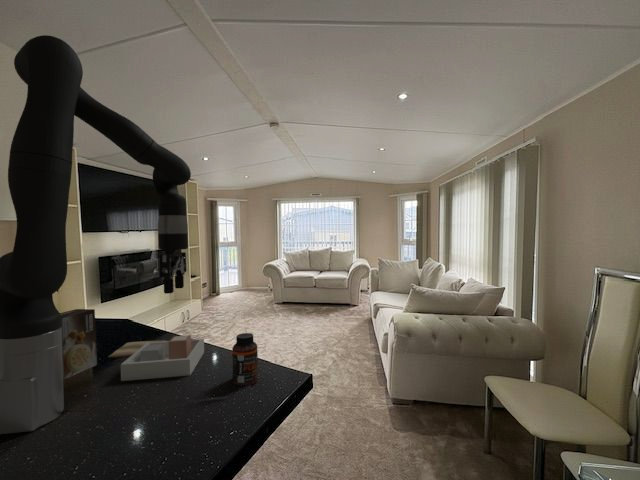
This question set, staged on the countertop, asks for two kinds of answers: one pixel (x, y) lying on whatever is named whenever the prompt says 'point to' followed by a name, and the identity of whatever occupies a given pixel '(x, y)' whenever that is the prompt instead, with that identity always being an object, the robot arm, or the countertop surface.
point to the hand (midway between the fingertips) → (174, 290)
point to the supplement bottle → (245, 360)
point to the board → (130, 348)
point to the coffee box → (78, 341)
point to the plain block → (153, 353)
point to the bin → (161, 363)
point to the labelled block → (179, 347)
